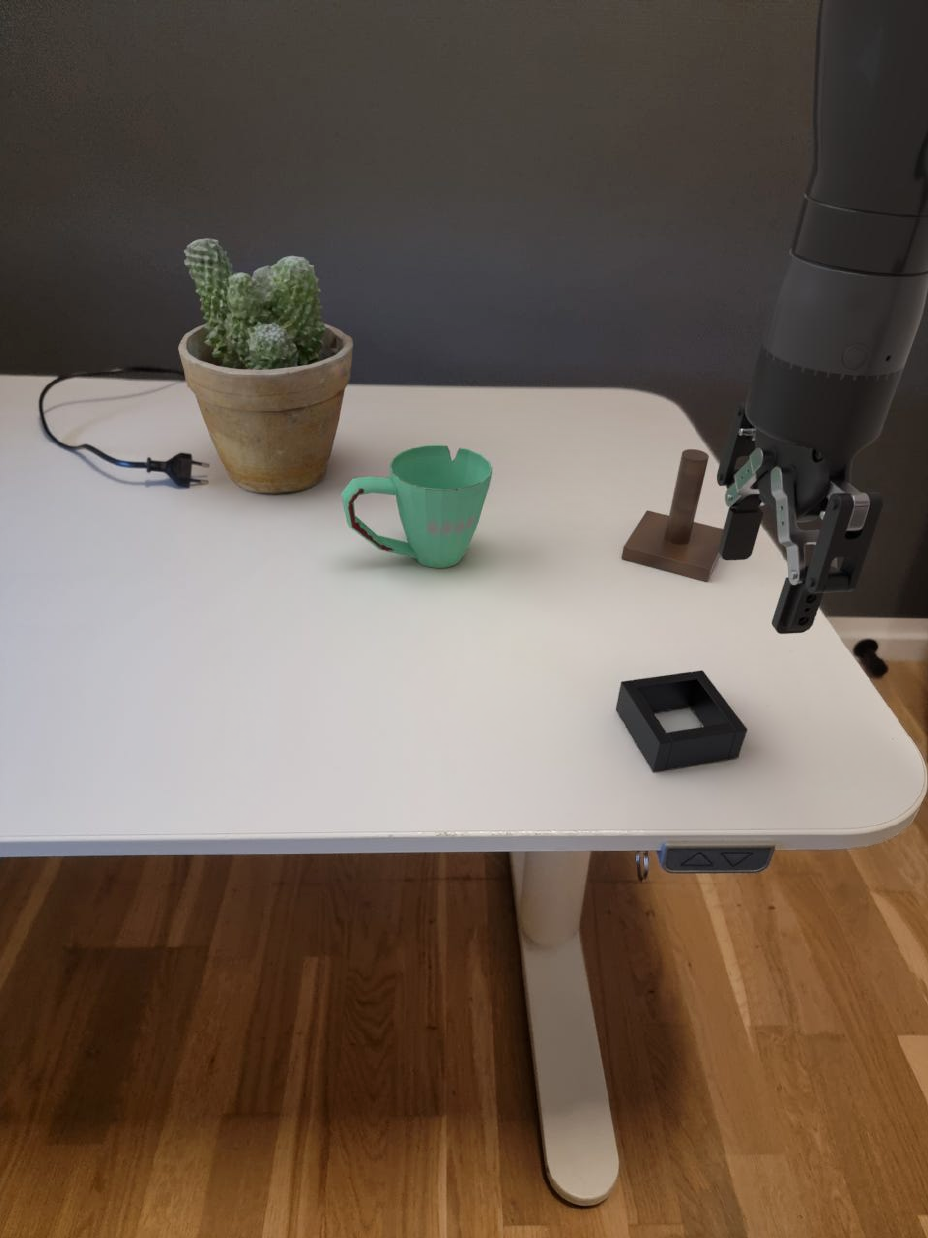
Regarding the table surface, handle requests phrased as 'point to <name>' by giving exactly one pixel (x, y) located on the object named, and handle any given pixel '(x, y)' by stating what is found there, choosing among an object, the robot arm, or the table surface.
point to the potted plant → (265, 369)
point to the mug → (428, 502)
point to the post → (678, 528)
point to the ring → (682, 746)
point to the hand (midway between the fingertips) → (759, 591)
